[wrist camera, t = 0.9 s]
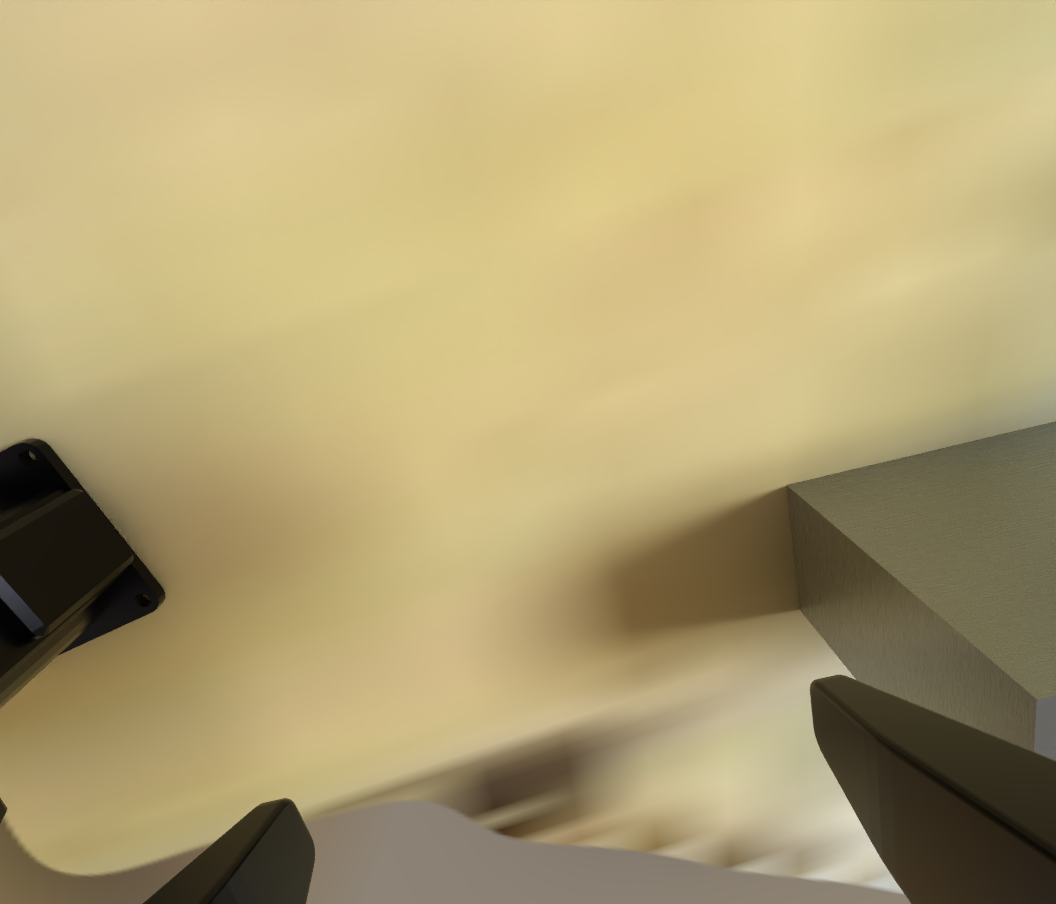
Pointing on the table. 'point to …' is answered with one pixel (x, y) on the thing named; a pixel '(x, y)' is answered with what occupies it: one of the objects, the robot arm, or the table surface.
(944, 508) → the silver rectangular block
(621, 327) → the table surface
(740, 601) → the table surface
